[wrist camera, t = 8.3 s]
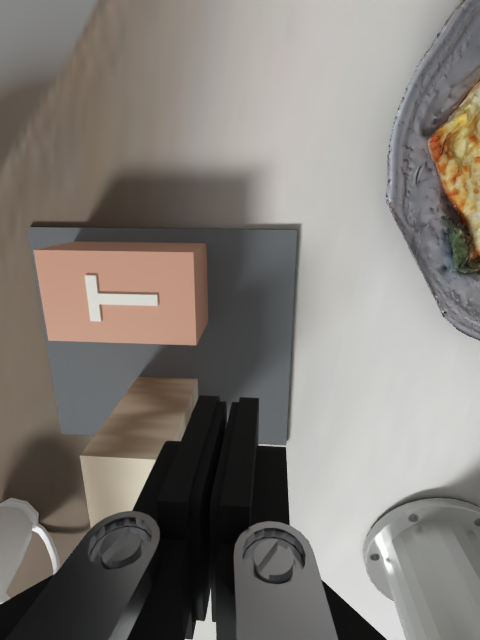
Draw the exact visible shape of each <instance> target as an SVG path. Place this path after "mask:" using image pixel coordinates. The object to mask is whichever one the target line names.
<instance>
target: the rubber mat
mask: <svg viewBox="0 0 480 640" xmlns="http://www.w3.org/2000/svg"><path fill="white" fill-rule="evenodd" d="M27 232H28V238H29V244H30V250H31V256H32V262H33V267H34V273H35V279H36V285H37V291H38V297H39V303H40V309H41V315H42V321H43V327H44V333H45V339H46V344H47V350H48V356H49V362H50V368H51V374H52V380H53V386H54V392H55V398H56V404H57V410H58V416H59V422H60V427H61V433H62V434H70V435H90V436H95V434H96V433H97V432H98V430H99V429H100V428H101V426H102V425H103V424H104V422H105V421H106V420H107V418H108V417H109V415H110V414H111V413H112V411H113V410H114V409H115V407H116V406H117V405H118V403H119V402H120V401H121V399H122V398H123V397H124V395H125V394H126V392H127V391H128V390H129V388H130V387H131V386H132V384H133V383H134V382H135V380H136V379H137V378H138V377H160V378H186V379H198V398H199V396H200V395H207V396H219V397H220V401H225V402H227V422H228V417H229V413H230V408H231V404H232V402H239V398H240V397H250V398H259V435H258V444H271V445H286V440H287V421H288V402H289V382H290V363H291V343H292V324H293V305H294V285H295V266H296V246H297V230H281V229H184V228H88V227H27ZM74 241H77V242H152V243H207V285H208V323H207V325H206V327H205V329H204V331H203V333H202V335H201V337H200V339H199V341H198V343H197V345H168V344H137V343H107V342H76V341H48V335H47V329H46V323H45V317H44V311H43V305H42V299H41V293H40V287H39V281H38V275H37V269H36V263H35V257H34V251H33V250H35V249H40V248H45V247H50V246H54V245H59V244H64V243H69V242H74Z"/></svg>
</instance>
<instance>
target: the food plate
mask: <svg viewBox="0 0 480 640" xmlns="http://www.w3.org/2000/svg"><path fill="white" fill-rule="evenodd" d="M432 46H433V47H432V48H431V49H429V51H427V52H426V54H425V55H424V59H423V60H421V62H420V65H419V66H417V67H418V68H417V70H416V72H415V74H414V76H413V78H412V80H411V82H410V83H409V85H408V86H407V88H406V92H405V96H404V97H403V98H402V99H403V100H402V101H401V102H402V103H401V105H400V106H399V108H398V111H399V112H398V114H397V115H396V117H395V122H394V126H393V129H392V135H391V139H390V145H389V148H390V149H389V150H390V151H389V154H388V160H389V161H388V162H387V163H388V184H387V192H386V197H387V198H388V199H387V201H386V203H387V202H388V203H389V207H390V208H392V209H391V210H392V211H391V213H392V212H393V213H392V215H393V214H394V215H393V217H394V219H395V221H396V223H397V225H398V227H399V229H400V230H401V232H402V234H403V236H404V239H405V240H406V242H407V244H408V247H409V249H410V251H411V253H412V255H413V257H414V259H415V261H416V263H417V265H418V267H419V269H420V271H421V273H422V275H423V277H424V279H425V281H426V282H427V285H428V287H429V289H430V291H431V293H432V294H433V296H434V298H435V300H436V303H437V302H438V303H437V305H438V307H439V309H440V308H441V309H440V311H445V312H444V313H442V312H441V313H442V315H443V317H445V318H446V319H447V320H448V321H450V323H451V324H452V325H453V326H454V327H456V329H457V330H459V331H461V332H462V333H464V334H466V335H468V336H470V337H473V338H475V339H478V340H480V0H464V1H463V3H461V4H460V5H459V6H458V7H457V8H456V9H455V12H453V13H452V14H451V16H450V18H449V19H448V20H447V21H446V23H445V25H444V28H442V32H440V33H439V34H438V35H437V38H436V39H435V40H434V43H433V45H432Z"/></svg>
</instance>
